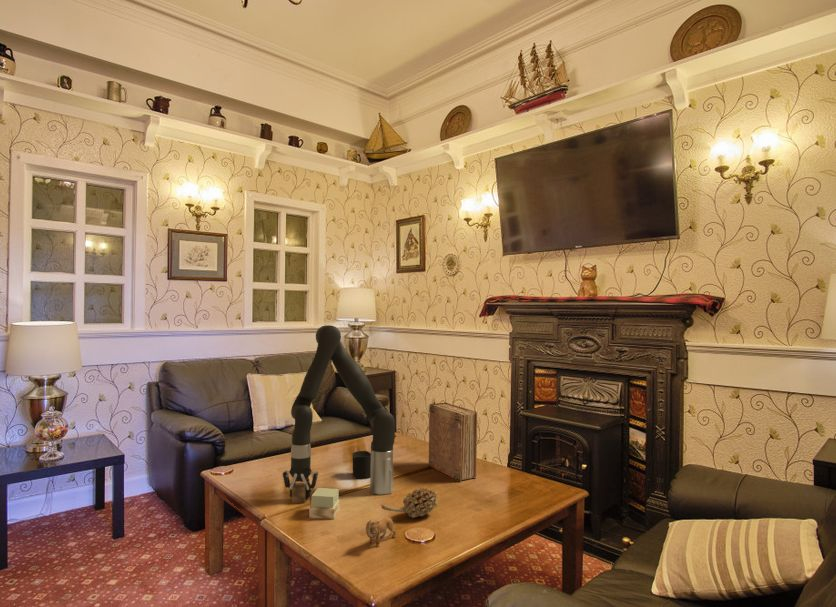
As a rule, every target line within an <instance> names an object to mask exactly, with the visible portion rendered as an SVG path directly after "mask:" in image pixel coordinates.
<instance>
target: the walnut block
mask: <svg viewBox="0 0 836 607" xmlns="http://www.w3.org/2000/svg"><path fill="white" fill-rule="evenodd" d="M307 501H308V499H306V487H305V485H304V483H303V482H296V483H295V485H294V486H293V487H292V499H291V503H292V504H305V503H306V502H307Z"/></svg>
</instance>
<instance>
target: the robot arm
mask: <svg viewBox="0 0 836 607" xmlns="http://www.w3.org/2000/svg"><path fill="white" fill-rule="evenodd" d="M341 339H342V334H341V331H340V329H339V328H337V327H336V326H335V325H322V326H320V327H319V328H318V329H317V331H316V332H315V341H316V343H317V348H316V351H315V354H314V357H313V360H312V362H311V364H310V366H309V367H308V369H307V372H306V374H305V375H304V378H303V381H302V384H301V386H300V391H299V393H298V394H297V396H296V398H295V400H294V402H293V403H292V407H291V409H290V412H291V413H290V414H291V418H293V419H294V429H292V434H291V448H290V470H284V471H283V472H282V477H283V483H284V487H285V488H288V489H289V497H290V499H291V500H292V487H293V486H294V485H295V484H296V483H299V482H300V483H304V485H305V487H306V499H307V500H308V499H309V498H310V497H311V489H313V490H314V488H315V486H316V485H317V480H318V475H319V472H318V471H313V470H312V469H311V460H312V459H311V458H312V457H311V456H312V455H311V453H312V449H311V431H312V425H313V420H314V419H313V418H314V416H313V410H312V408H311V405H312V403H313V401H314V400H315V399H316V398H317V397H318V395H319V392H320V388H321V386H322V382H323V380H324V377H325V375H326V371H327V368H328V366H329V363H330V361H331V362H332V365H333V366H334V369H335V370H336V372H337V373H338V376H339V377H340V379H341V380H342V382H343V383H344V385H345V387H346V388H347V391H348V392H349V393H350V394H351V395H352V397H353V398H354V399H355V400H356V402H357V403H358V404H359V405H360V407H361V408H362V410H363V411H364V413H365V415H366V419H367V420H368V422H369V423H370V426H371V428H372V440H371V443H370V453H371V469H370V478H369V482H370V484H369V491H370V492H371V493H372V494H374V495H388V494H389V495H390V494H392V493H393V490H394V463H393V462H394V444H395V438H396V437H395V436H396V420H395V417H394V415H393V414H392V413H390V411H388V410H387V409H386V408H385V407H384V405H383V404H382V403H381V401H380V400H379V399H378V397H377V396H376V393H375V391H374V389H373V386H372V383H371V381H370V380H369V378H368V376H367V375H366V373H365V371H364V370H363V368H362V367H361V366H360V365H359V364H358V362H357V360H355V359H354V358H353V357H352V356H351V355H350V354H349V352H348V351H347V350H346V348H345V347H344V344H343V342H342V341H341ZM310 475H311V478H312V480H311V482H310V478H309V477H310ZM290 476H291V477H292V480H291V481H290Z"/></svg>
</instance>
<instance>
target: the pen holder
mask: <svg viewBox="0 0 836 607" xmlns="http://www.w3.org/2000/svg"><path fill="white" fill-rule="evenodd" d="M351 458H352V460H351V461H352V477H353V478H354V479H358V480H366V479H370V469H371V451H370V452H369V451H367V450H359V451H354V452H352V457H351Z"/></svg>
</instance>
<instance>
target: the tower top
mask: <svg viewBox="0 0 836 607" xmlns="http://www.w3.org/2000/svg"><path fill="white" fill-rule="evenodd" d="M313 492H314V493H312V495H311V503H310V504H311V505H310V506H311V507H323V508H333V507H334V506H335V504H336V503H337V501H338V500H339V498H340V496H339V495H340V494H339V493H340V492H339V488H327V487H326V488H325V487H317V488H316V490H315V491H313Z"/></svg>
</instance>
